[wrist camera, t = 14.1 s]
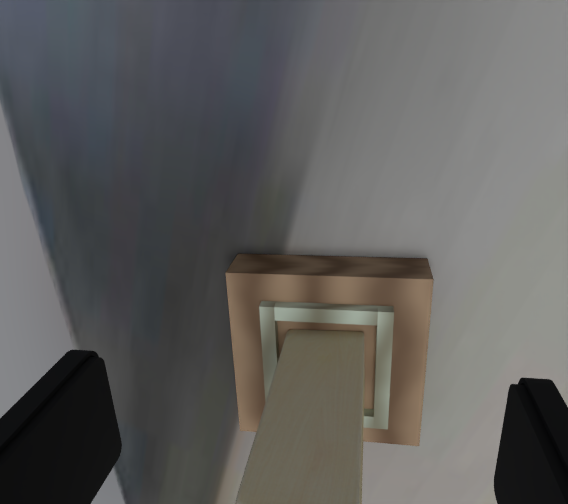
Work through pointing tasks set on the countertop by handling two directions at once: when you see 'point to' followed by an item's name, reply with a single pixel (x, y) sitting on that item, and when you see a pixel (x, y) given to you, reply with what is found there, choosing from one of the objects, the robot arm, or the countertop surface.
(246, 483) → the toy refrigerator
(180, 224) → the countertop surface
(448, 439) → the countertop surface
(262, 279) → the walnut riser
